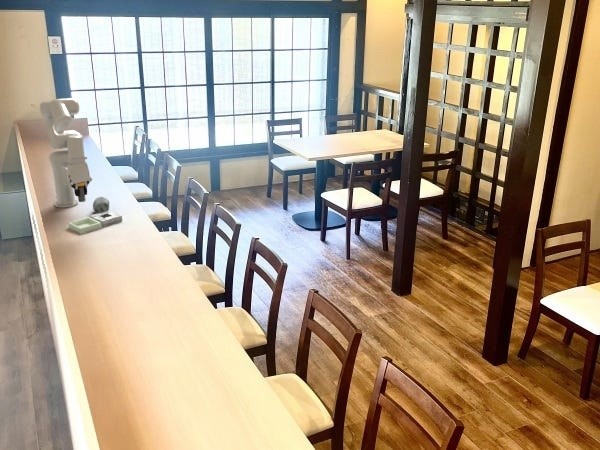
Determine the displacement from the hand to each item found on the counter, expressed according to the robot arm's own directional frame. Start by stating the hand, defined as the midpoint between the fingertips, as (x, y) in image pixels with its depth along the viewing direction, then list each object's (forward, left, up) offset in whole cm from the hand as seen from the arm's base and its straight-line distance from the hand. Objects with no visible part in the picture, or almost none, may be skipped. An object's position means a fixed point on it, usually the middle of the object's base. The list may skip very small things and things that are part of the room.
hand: (81, 194), depth 288 cm
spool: (-15, +19, -18) cm, 31 cm away
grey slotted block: (-1, +13, -18) cm, 22 cm away
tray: (0, 0, -18) cm, 18 cm away
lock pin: (0, 0, -3) cm, 3 cm away
